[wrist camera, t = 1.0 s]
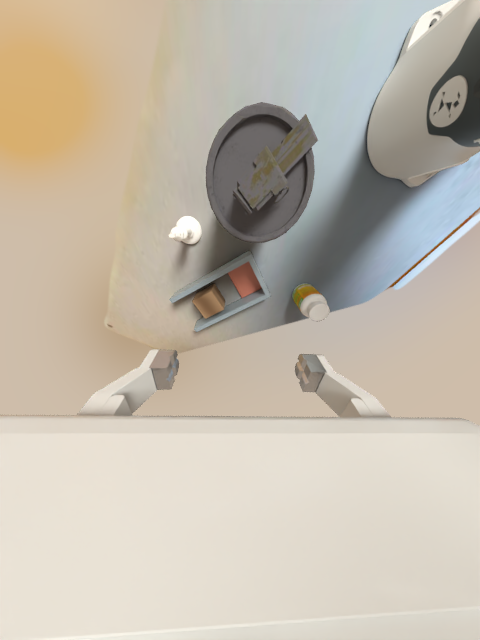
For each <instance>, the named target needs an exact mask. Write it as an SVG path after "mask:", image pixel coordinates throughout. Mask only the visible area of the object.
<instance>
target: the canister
mask: <svg viewBox="0 0 480 640" xmlns="http://www.w3.org/2000/svg"><path fill="white" fill-rule="evenodd" d="M317 141H318V140H317V137H316V135H315V133H314V131H313V129H312V126H311V124H310V122H309V120H308V118H307V115H306V114H305V116H304V117H303V118H302V119H301V120H300V121H299V120H298V119H297V118H296V117H295V116H294V115H293V114H292V113H291V112H289V111H288V110H286V109H285V108H283V107H280V106H276V105H273V104H268V103H263V102H261V103H257V104H253V105H250V106H246V107H244V108H242V109H241V110H240V111H238V112H237V113H235V114H234V115H233V116H232V117H231V118H230V119H229V120H227V122H226V123H225V124H224V125H223V126H222V127H221V128H220V129H219V131H218V133H217V135H216V137H215V139H214V141H213V143H212V146H211V149H210V152H209V156H208V161H207V166H206V187H207V194H208V198H209V201H210V205H211V208H212V210H213V212H214V214H215V216H216V218H217V220H218V221H219V222H220V224H221V225H222V226H223V227H224V228H225V229H226V230H227V231H228V232H229V233H230V234H232V235H233V236H235V237H237V238H238V239H240V240H243V241H246V242H252V243H262V242H267V241H270V240H273V239H276V238H278V237H279V236H281V235H283V234H284V233H286V232H287V231H288V230H289V229H290V228H291V227H292V226H293V225H294V224H295V223H296V222H297V221H298V219H299V217H300V216H301V214H302V213H303V211H304V209H305V208H306V206H307V203H308V200H309V197H310V194H311V191H312V186H313V179H314V156H313V152H312V148H311V147H312V146H313V145H314V144H315V143H316V142H317Z"/></svg>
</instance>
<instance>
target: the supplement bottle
mask: <svg viewBox="0 0 480 640" xmlns="http://www.w3.org/2000/svg"><path fill="white" fill-rule="evenodd" d="M292 298H293V300H294V302H295V304H296V305H297V306H298V308H299V309H300V311H301V312H302V314H303V315H304V316H306V317H309V318H310V319H311V320H313V321H322V320H324V319H325V318H326V317H327V316H328V315H329V312H330V309H329V307H328V305H327V301H326V299H325V298H324V296H323V295H321V294H320V293H319V292H318V291H317V290H316V289H315V288H314V287H313V286H312V285H310V284H306V283H305V284H301V285H299V286H297V287H296V288H295V289H294V291H293V293H292Z"/></svg>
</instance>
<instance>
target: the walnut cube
mask: <svg viewBox="0 0 480 640" xmlns="http://www.w3.org/2000/svg"><path fill="white" fill-rule="evenodd" d="M192 302H193V303H194V305H195V306H196V307H197V309H198V310H199V311H200V313H201V314H202V315H203V316H204V318H205V319H206V318H208V317H210V316H212V315H214V314H216V313H218V312H220V311H222V310H224V306H225V299H224V297H223V296H222V294H221V293H220V291H219V290H218V288H217V287H216V285H215V283H214V284H212V285H210V286H208V287H206V288H204V289H203V290H201V291H199V292H197V293H196V295H195V297H194V299H193V301H192Z"/></svg>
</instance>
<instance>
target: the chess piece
mask: <svg viewBox="0 0 480 640" xmlns="http://www.w3.org/2000/svg"><path fill="white" fill-rule="evenodd" d="M201 235H202V230H201V226H200V224H199V223H198V221H197V220H196V219H194V218H193V217H190V216H184V217H182V218H181V219H179V221H178V222H177V225H176V227H174V228H173V229H172V230H171V234H169V237H172V238H173V239H174V240H175V241H181V240H182V241H183V242H184V243H187V244H195V243H197V242H198V241H199V240H200V238H201Z"/></svg>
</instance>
